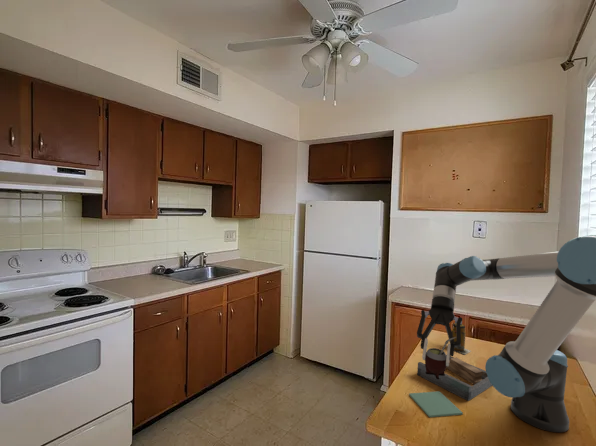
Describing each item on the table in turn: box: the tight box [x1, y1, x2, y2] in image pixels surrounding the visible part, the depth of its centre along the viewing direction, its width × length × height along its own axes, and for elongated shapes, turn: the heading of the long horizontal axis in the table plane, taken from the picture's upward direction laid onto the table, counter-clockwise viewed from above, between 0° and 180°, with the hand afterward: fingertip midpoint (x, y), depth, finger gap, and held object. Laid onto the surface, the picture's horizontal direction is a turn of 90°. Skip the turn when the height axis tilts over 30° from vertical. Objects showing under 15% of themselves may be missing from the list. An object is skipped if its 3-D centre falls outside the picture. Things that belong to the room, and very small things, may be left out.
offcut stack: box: [446, 357, 483, 385], centre depth 128 cm, size 14×4×5 cm, turn 23°
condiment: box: [446, 322, 472, 355], centre depth 152 cm, size 7×8×12 cm
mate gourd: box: [424, 337, 456, 379], centre depth 107 cm, size 8×8×15 cm
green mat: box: [408, 390, 464, 418], centre depth 107 cm, size 12×12×1 cm
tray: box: [416, 356, 493, 402], centre depth 125 cm, size 20×22×5 cm
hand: (435, 361), depth 104 cm, fingers closed on mate gourd, 6 cm apart
